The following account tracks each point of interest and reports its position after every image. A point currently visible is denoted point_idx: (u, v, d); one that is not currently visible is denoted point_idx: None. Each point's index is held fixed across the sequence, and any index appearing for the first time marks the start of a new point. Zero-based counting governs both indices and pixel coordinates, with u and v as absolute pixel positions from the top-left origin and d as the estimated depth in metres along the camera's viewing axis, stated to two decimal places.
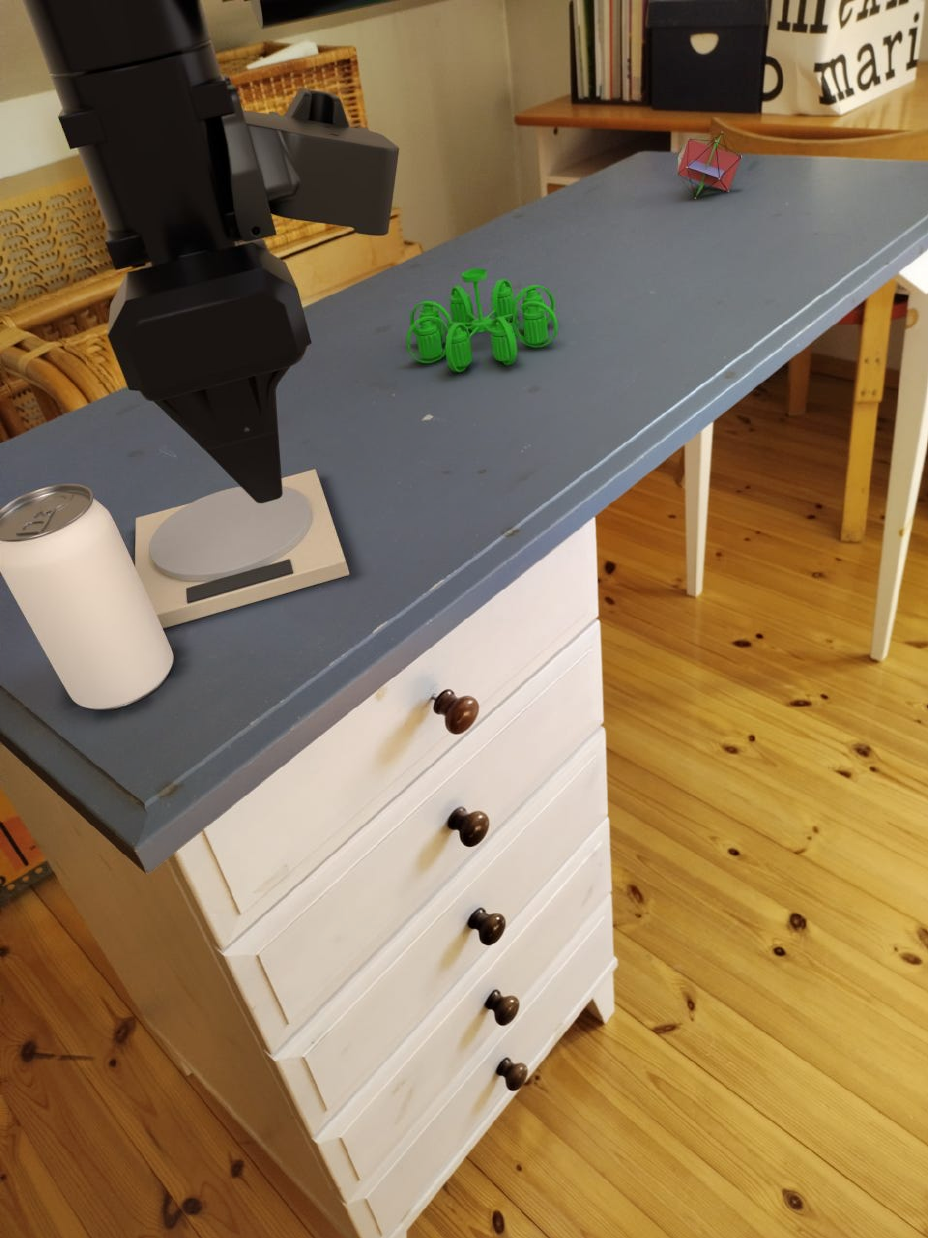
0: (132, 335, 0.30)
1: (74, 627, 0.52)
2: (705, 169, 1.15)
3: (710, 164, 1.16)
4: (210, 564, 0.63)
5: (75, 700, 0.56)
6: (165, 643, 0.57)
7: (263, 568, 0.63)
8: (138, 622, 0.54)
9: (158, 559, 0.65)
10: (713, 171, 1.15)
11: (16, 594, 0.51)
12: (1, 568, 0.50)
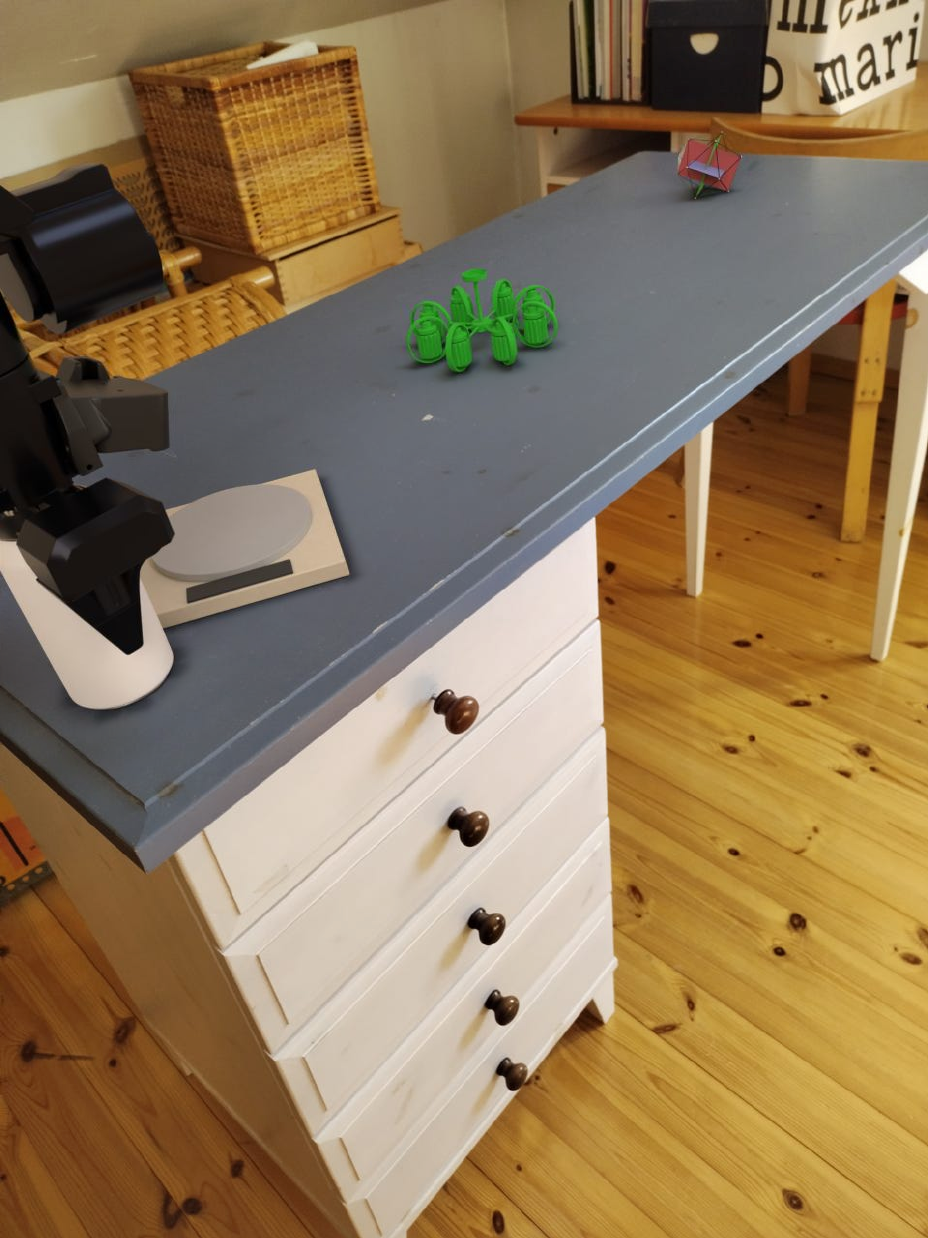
0: (67, 560, 0.43)
1: (74, 627, 0.52)
2: (705, 169, 1.15)
3: (710, 164, 1.16)
4: (210, 564, 0.63)
5: (75, 700, 0.56)
6: (165, 643, 0.57)
7: (263, 568, 0.63)
8: None
9: (158, 559, 0.65)
10: (713, 171, 1.15)
11: (16, 594, 0.51)
12: (1, 568, 0.50)
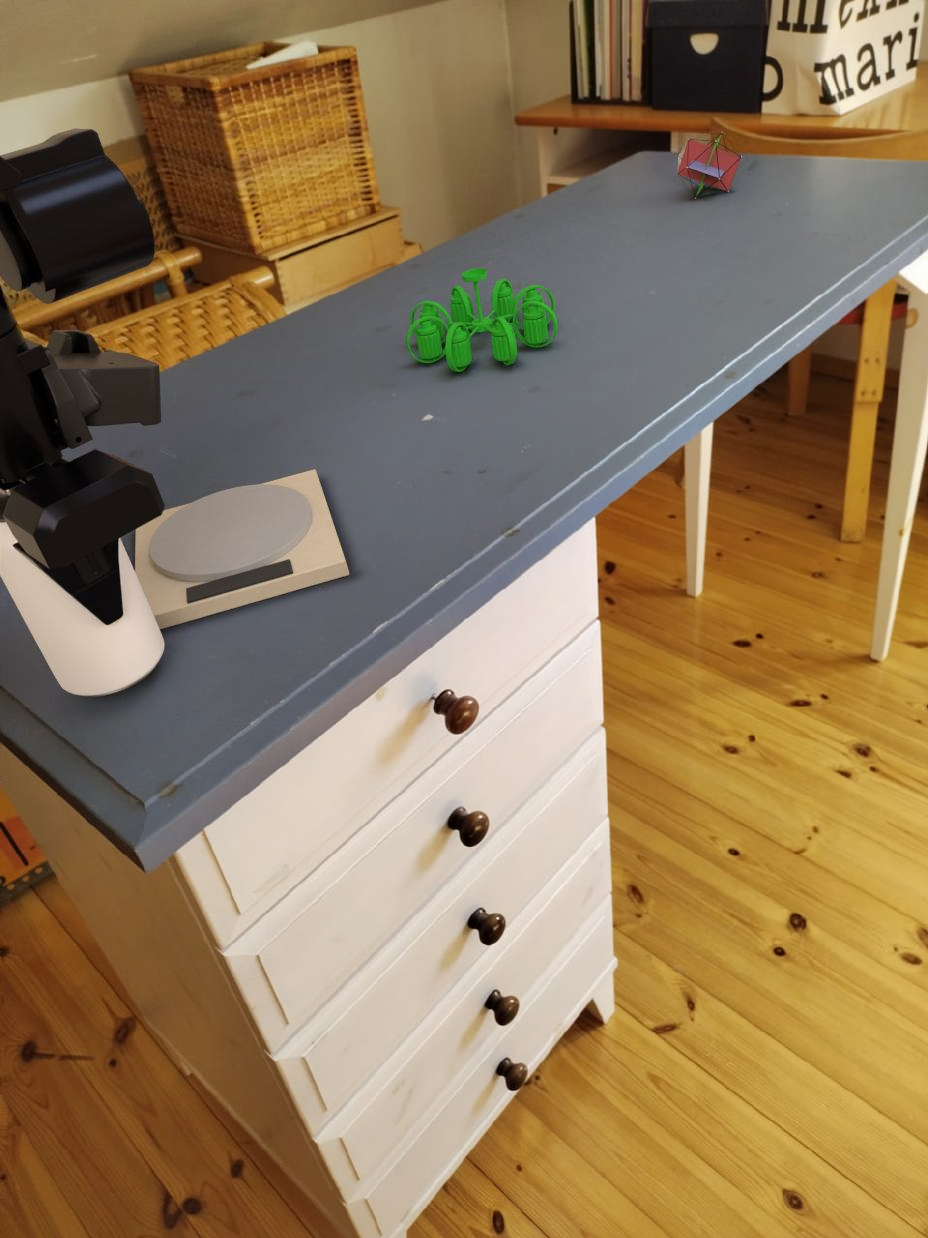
0: (54, 530, 0.42)
1: (63, 611, 0.51)
2: (705, 169, 1.15)
3: (710, 164, 1.16)
4: (210, 564, 0.63)
5: (64, 687, 0.55)
6: (156, 630, 0.56)
7: (263, 568, 0.63)
8: (128, 607, 0.53)
9: (158, 559, 0.65)
10: (713, 171, 1.15)
11: (4, 577, 0.50)
12: None
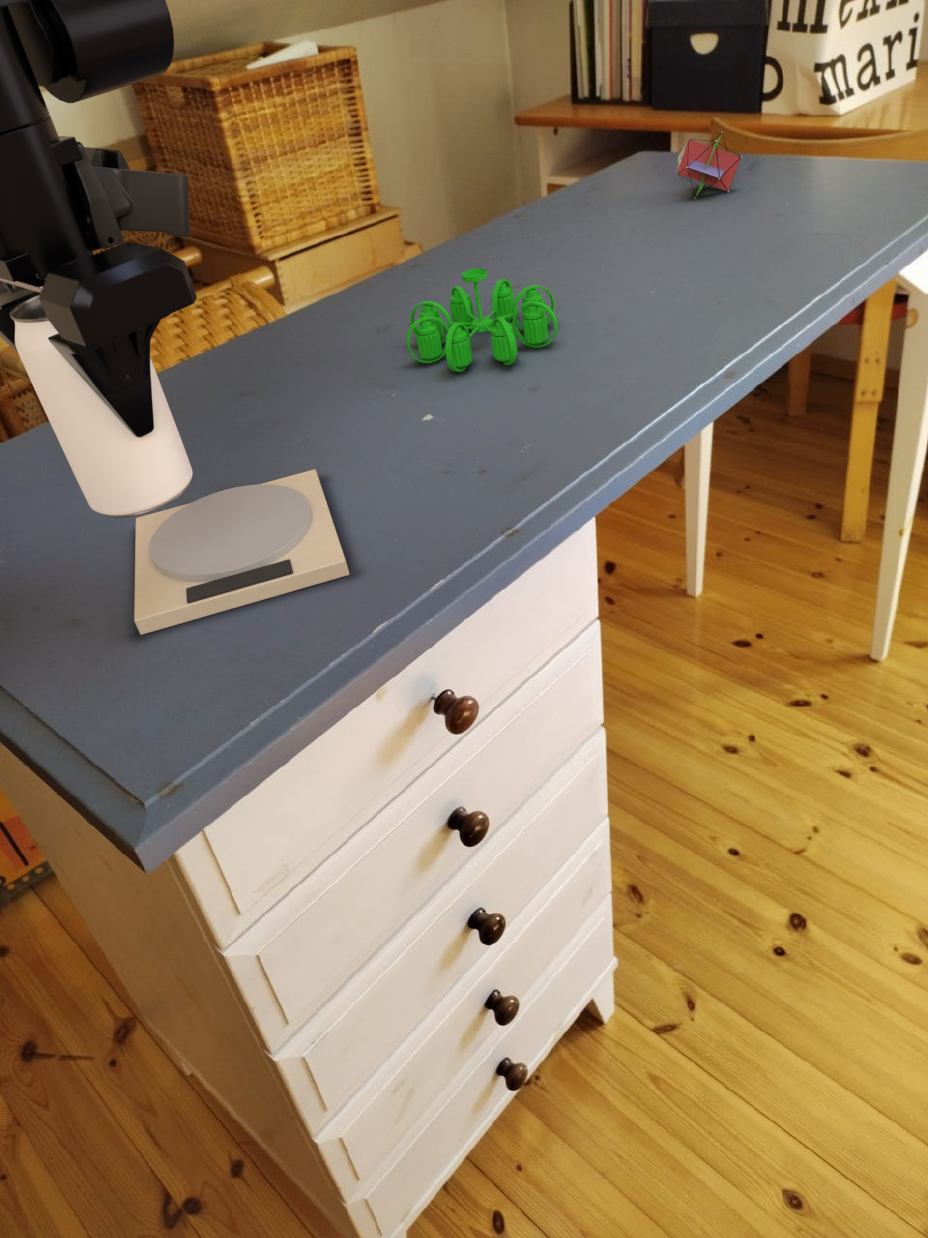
0: (91, 303, 0.43)
1: (95, 420, 0.52)
2: (705, 169, 1.15)
3: (710, 164, 1.16)
4: (210, 564, 0.63)
5: (95, 507, 0.56)
6: (184, 455, 0.57)
7: (263, 568, 0.63)
8: (158, 423, 0.54)
9: (158, 559, 0.65)
10: (713, 171, 1.15)
11: (38, 384, 0.51)
12: (23, 354, 0.50)
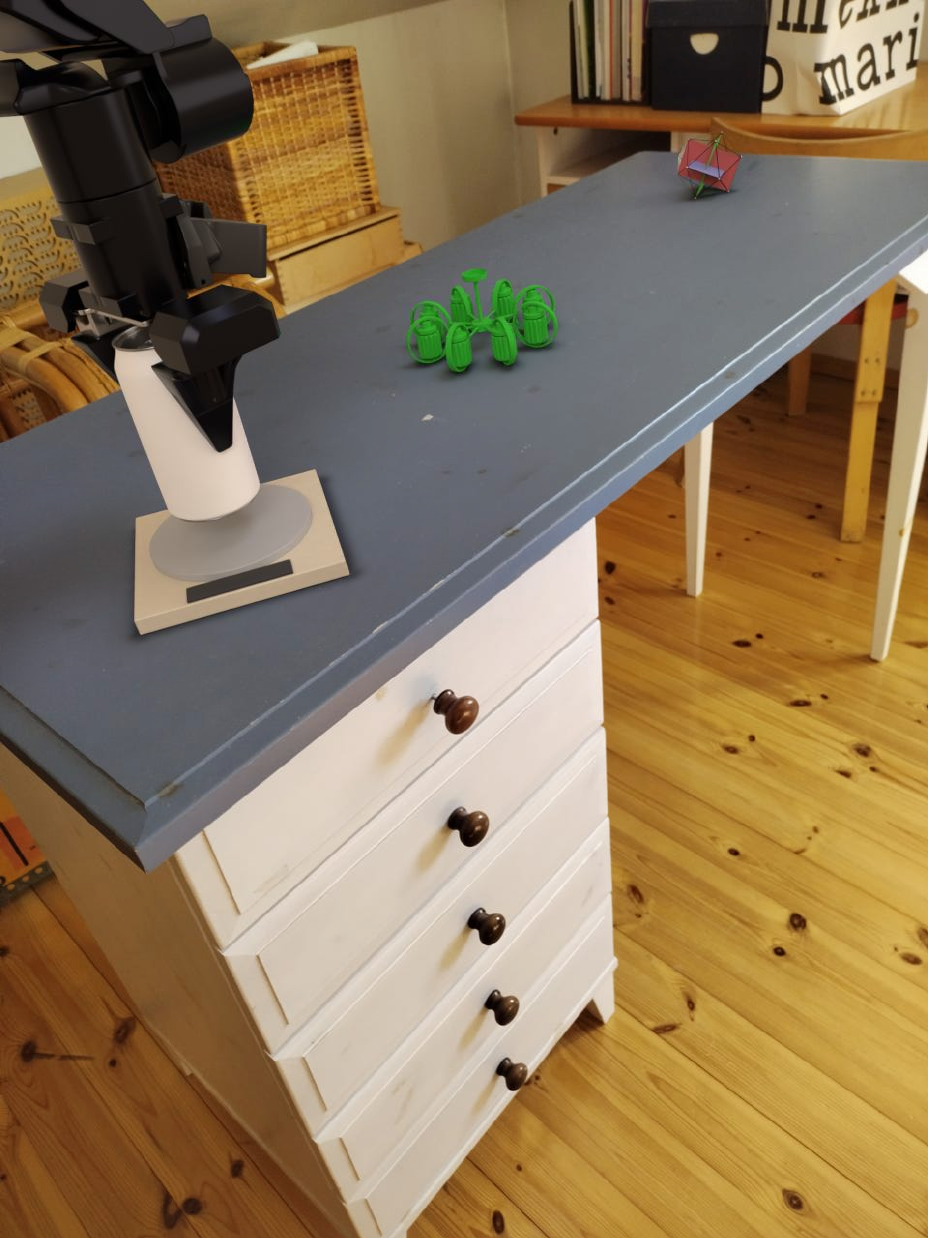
0: (198, 338, 0.50)
1: (183, 436, 0.59)
2: (705, 169, 1.15)
3: (710, 164, 1.16)
4: (210, 564, 0.63)
5: (176, 513, 0.63)
6: (254, 467, 0.64)
7: (263, 568, 0.63)
8: (235, 440, 0.61)
9: (158, 559, 0.65)
10: (713, 171, 1.15)
11: (134, 404, 0.58)
12: (123, 379, 0.58)
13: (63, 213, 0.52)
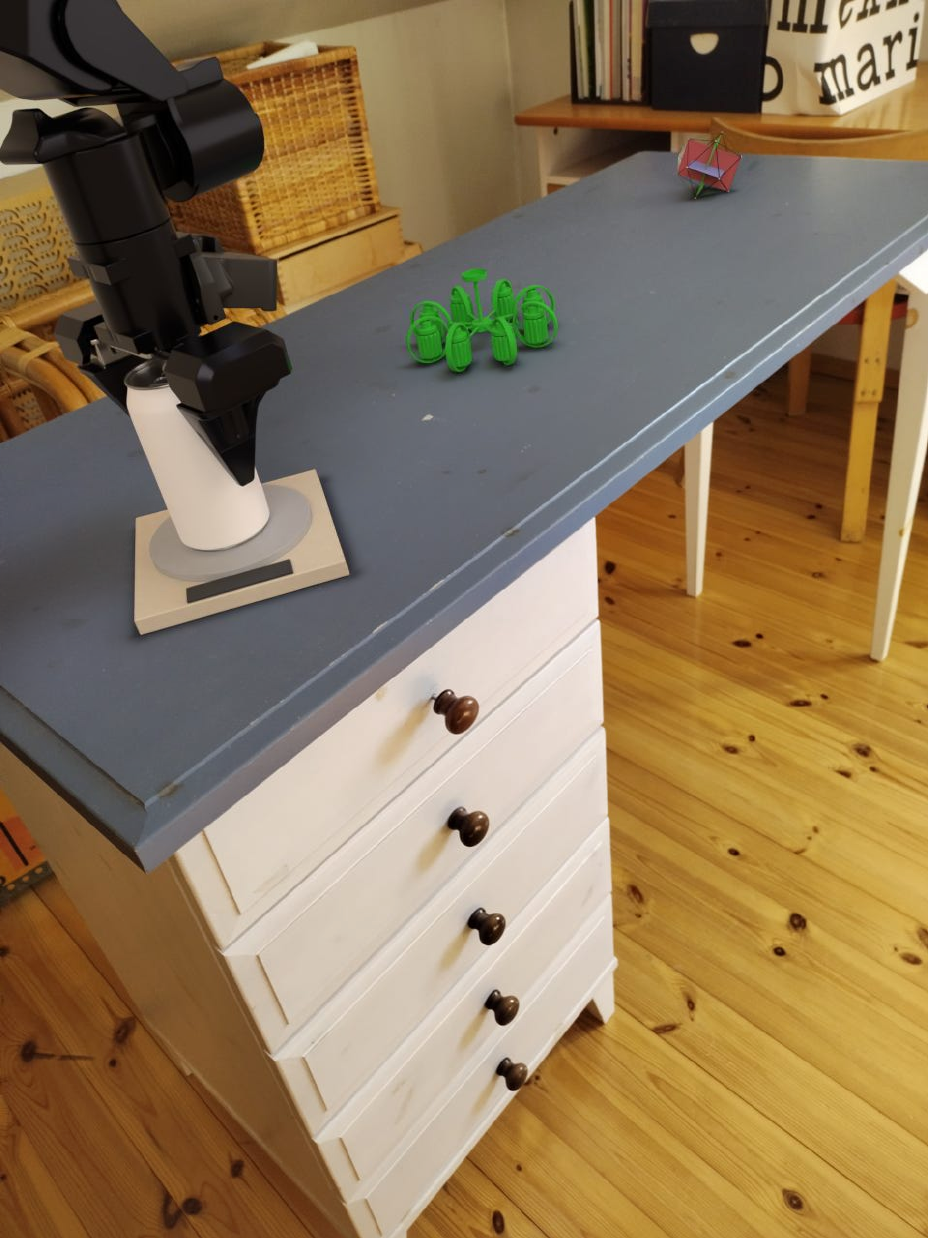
0: (212, 377, 0.52)
1: (194, 470, 0.60)
2: (705, 169, 1.15)
3: (710, 164, 1.16)
4: (210, 564, 0.63)
5: (188, 543, 0.65)
6: (264, 496, 0.66)
7: (263, 568, 0.63)
8: None
9: (158, 559, 0.65)
10: (713, 171, 1.15)
11: (146, 440, 0.60)
12: (136, 416, 0.59)
13: (80, 254, 0.54)
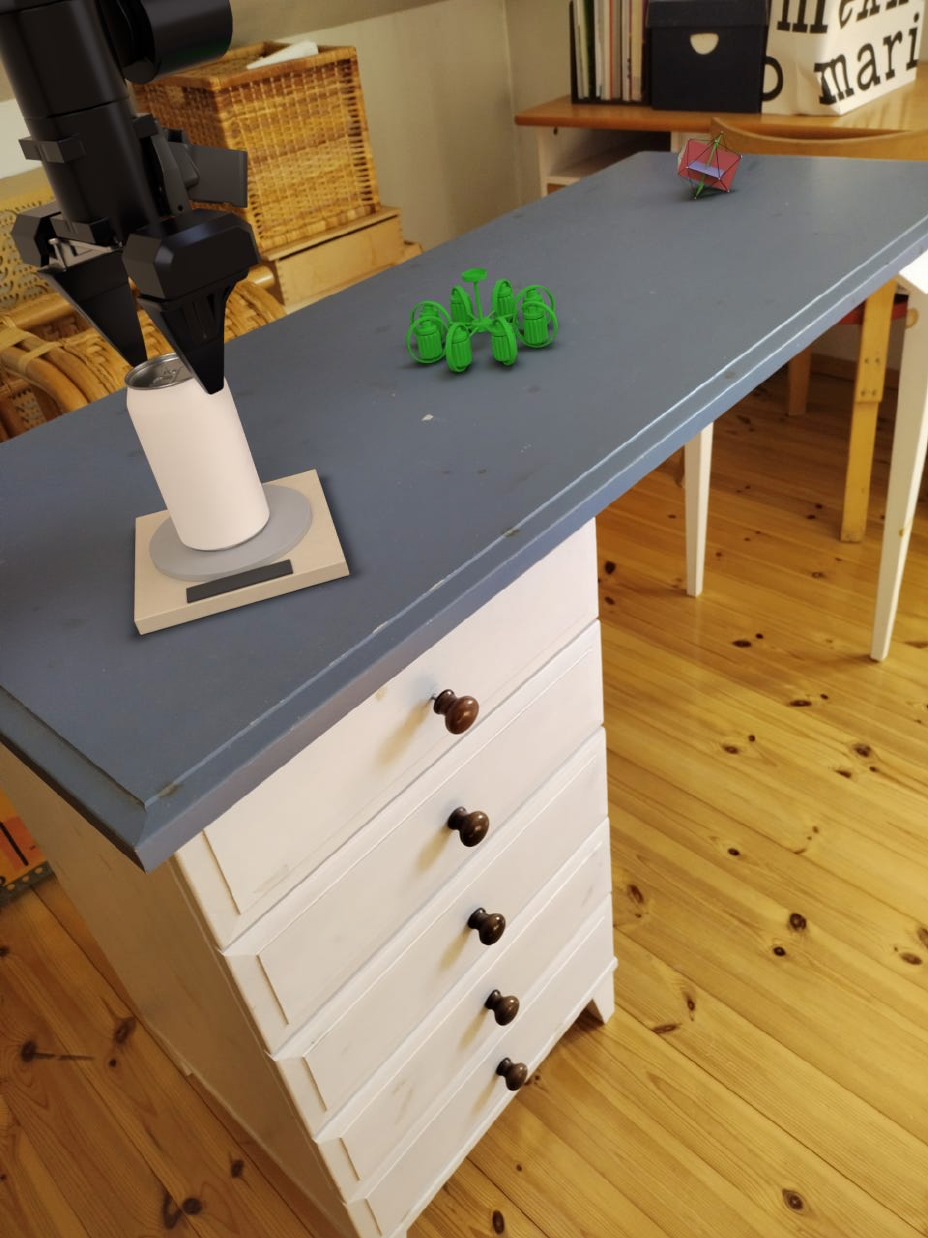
0: (172, 259, 0.48)
1: (194, 470, 0.60)
2: (705, 169, 1.15)
3: (710, 164, 1.16)
4: (210, 564, 0.63)
5: (188, 543, 0.65)
6: (264, 496, 0.66)
7: (263, 568, 0.63)
8: (245, 471, 0.63)
9: (158, 559, 0.65)
10: (713, 171, 1.15)
11: (146, 440, 0.60)
12: (136, 416, 0.59)
13: (31, 131, 0.50)
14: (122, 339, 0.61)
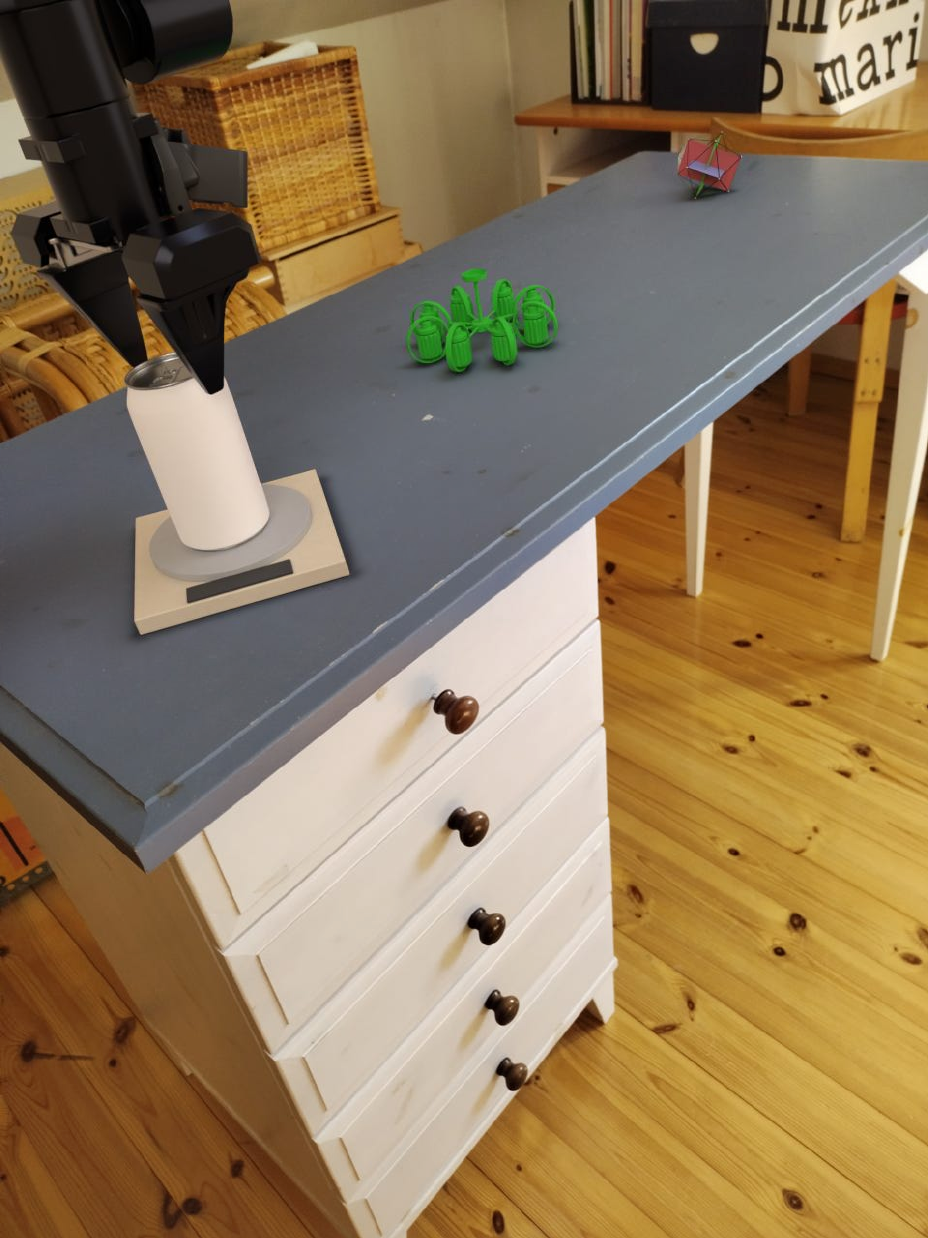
0: (172, 259, 0.48)
1: (194, 470, 0.60)
2: (705, 169, 1.15)
3: (710, 164, 1.16)
4: (210, 564, 0.63)
5: (188, 543, 0.65)
6: (264, 496, 0.66)
7: (263, 568, 0.63)
8: (245, 471, 0.63)
9: (158, 559, 0.65)
10: (713, 171, 1.15)
11: (146, 440, 0.60)
12: (136, 416, 0.59)
13: (31, 131, 0.50)
14: (122, 339, 0.61)
